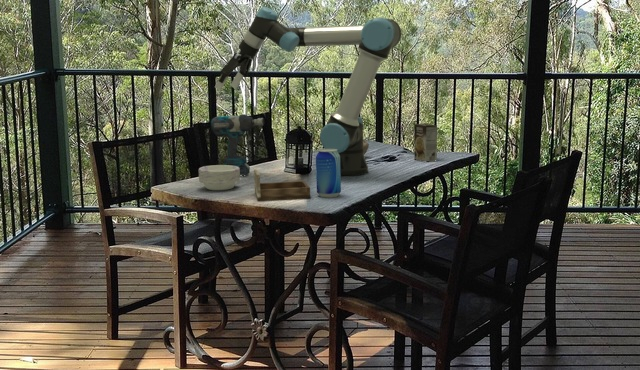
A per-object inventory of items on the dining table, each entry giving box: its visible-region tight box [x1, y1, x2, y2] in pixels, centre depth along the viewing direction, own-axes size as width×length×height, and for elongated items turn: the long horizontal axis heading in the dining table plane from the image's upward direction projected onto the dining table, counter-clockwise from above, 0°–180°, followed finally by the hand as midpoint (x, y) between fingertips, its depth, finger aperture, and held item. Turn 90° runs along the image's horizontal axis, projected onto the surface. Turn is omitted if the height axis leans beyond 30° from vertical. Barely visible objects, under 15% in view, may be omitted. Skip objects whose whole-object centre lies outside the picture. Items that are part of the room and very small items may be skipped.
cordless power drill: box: [210, 113, 265, 177], centre depth 320 cm, size 8×23×25 cm, turn 78°
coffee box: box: [413, 123, 438, 162], centre depth 348 cm, size 9×6×16 cm
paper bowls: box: [198, 164, 241, 191], centre depth 293 cm, size 15×15×8 cm
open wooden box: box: [253, 168, 311, 202], centre depth 274 cm, size 18×14×9 cm
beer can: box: [315, 148, 342, 198], centre depth 272 cm, size 8×8×16 cm
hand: (225, 88), depth 318 cm, fingers open, 13 cm apart
